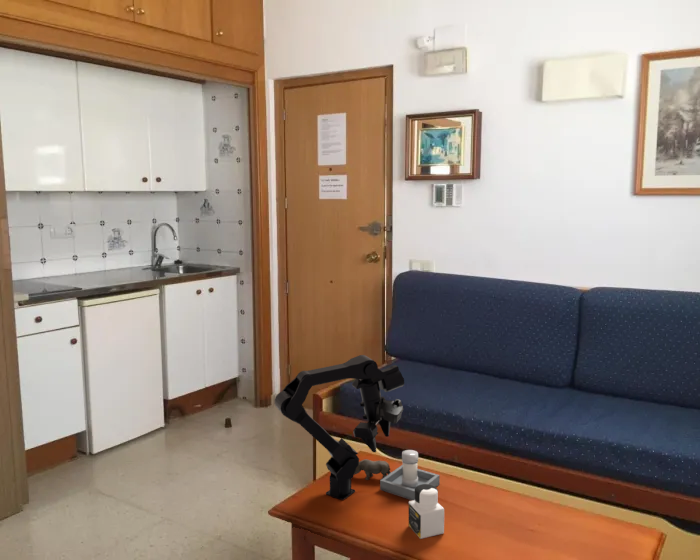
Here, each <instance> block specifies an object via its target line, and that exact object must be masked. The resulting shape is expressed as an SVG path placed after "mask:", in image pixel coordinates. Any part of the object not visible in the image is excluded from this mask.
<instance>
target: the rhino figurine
mask: <svg viewBox="0 0 700 560" xmlns="http://www.w3.org/2000/svg"><path fill="white" fill-rule="evenodd" d="M361 471H364V474H365V475H366V476H365V478H364V480H366V481H369V480H371V479H370V478H372V477H374V475H378V474H381V475H382V477H381V479H383V478H384V477H386V476H387V475H389V474H390V473H391V472H392V471H391V468H390V464H389V463H388V462H387V461H385V460H370V459H366V458H365V459H362V460H359V464H358V466H357V468H356V470H355V473H354V476H355V475H358V474H359V473H360V472H361Z"/></svg>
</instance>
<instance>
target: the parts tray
mask: <svg viewBox="0 0 700 560" xmlns="http://www.w3.org/2000/svg"><path fill="white" fill-rule="evenodd" d="M390 472H391V473H390V474H389V475H388V474H387V476H386V477H384V478H383V479H382V478H380V480H379V482H380V483H379V490H380V491H384V492H386V493H389V494H391V495H395V496H398V497H402V498H404V499H407V500H409V501H413V500H415V488H409V487H405V486H402V476H403V464H401V465H400V466H399V467H397V468H396V469H394V470H393V471H390ZM417 476H418V485H421V484H429V485H433V486H435V487H436V488H437V487H438V486H439V485H440V478H441V477H440V474H437V473H434V472H430V471H426V470H423V469H420V468H417Z"/></svg>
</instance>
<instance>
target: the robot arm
mask: <svg viewBox="0 0 700 560" xmlns="http://www.w3.org/2000/svg"><path fill="white" fill-rule="evenodd" d="M347 379H354V381H353V382H352V383H351V386H352V387H353V388H355V389H356V390H360V395H361V400H362V401H361V402H360V403H359V404H360V407H363V409H364V410H363V411H364V414H363V415H362V419H363V420H367V422H363V421H362V422H359V423H358V424H357V425H356V426H355V428H354V429H352V430H353V436H354V438H357V439H361V440H362V441H363V443H364V444H366V446H367V448H369V450H370V451H371V452H372V453H377V443H376V441H377V440H376V437H377V436H378V434H379V432H378V425H379V426H380V428H381V431H382V433H383V435H384V436H385V437H389V436H390V430H391V429H390V427H391V424H392V425H394V424H397V423H398V422H399V421H400V419H401V418H402V413H403V411H404V406H403V404H402V403H403V402H402V400H401V399H398V398H395V400H386V398H385V396H382V394H381V391H383V392H385V393H388V392H391V391H394V390H397V389H399V388H402V387H403V386H405V378H404V376H403V374H402V372H401V371H400V369H399V366H398V365H396V364H393V365H391V366H389V367H387V368H384V369H380V368H379V365H378V364H377V361H375V360H374V359H372V358H370V357H369V356H367V355H365V354H360V355H357V356H354V357H351V358H349V359H348V360H346V361H345V362H343V363H339V364H334V365H329V366H325V367H319V368H314V369H310V370H301V371H299V373H297V375H296V376H295V377H294V378H293V379H292V380H290V382H289V383H288V384H286V386H285V387H283V389H282V390H281V391H280V392H279V393H277V394H276V396H275V398H274V406H275V407H276V408H277V410H278V411H279V412H280V413H281V414H282V416H284V417H285V418H287V419H289V420H290V421H292V422H294V423H296V424H298V425H300V426H301V428H303V429H304V430H305V431H307V432H308V434H309V435H310V436H311V437H313V438H314V439H315V440H316V441H317V442H318V443H319V444H321V446H322V447H323V448H325V449H326V450H327V452H328V454H329V455H330V456H331V457H330V458H329V459H328V461H326V463H325V466H326V467H327V468H326V469H327V470H328V471H329V472H330V475H329V490H327V491H326V492H325V495H326V496H328V497H332V498H334V499H338V500H341V501H344V500H345V499H347V498H349V497H350V496H351V495H353V494H354V493H356V490H355V489H354V488H352V479H353V478H354V476H355V475H354V473H355V470H356V468H357V466H358V464H359V462H360V458H359V456H358V454H359V453H358V452H357V451H356V450H355V449H354V448H353V447H352V446H351V445H350V444H349V443H348V442H346V441H345V439H344V438H342V437H341V438H340V439H339V440H337V439H335V438H334V437H333V436H332V435H331V434H330V433H328V432H327V431H326V430H325V429H324V427H322V426H321V425H320V424H319V423H318V422H317V421H315V419H313V418H312V417H311V416H310V414H308V413H307V410H306V409H305V407H304V406H303V404H304V402H306V400H307V396H308V395H309V392H310V390H311V388H312V387H315V386H319V385H324V384H329V383H333V382H339V381H343V380H347Z"/></svg>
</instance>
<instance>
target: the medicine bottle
mask: <svg viewBox="0 0 700 560" xmlns="http://www.w3.org/2000/svg"><path fill="white" fill-rule="evenodd" d="M438 492H439V489H438V488H437V487H435V486H433V485H429V484H421V485H418V486H417V487H416V488H415V500H409V501H408V527H409V528H410V529H411V530H412V531H413V532H414V533H415V534H416V536H417V537H418V538H419V539H420V540H421V539H426V538H430V537H434V536H438V535H439V536H440V535H442V534H444V533H445V508H444V507H443V506H442V505H441V504H440V503H439V502H438V499H439V496H438V495H439V493H438Z"/></svg>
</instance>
